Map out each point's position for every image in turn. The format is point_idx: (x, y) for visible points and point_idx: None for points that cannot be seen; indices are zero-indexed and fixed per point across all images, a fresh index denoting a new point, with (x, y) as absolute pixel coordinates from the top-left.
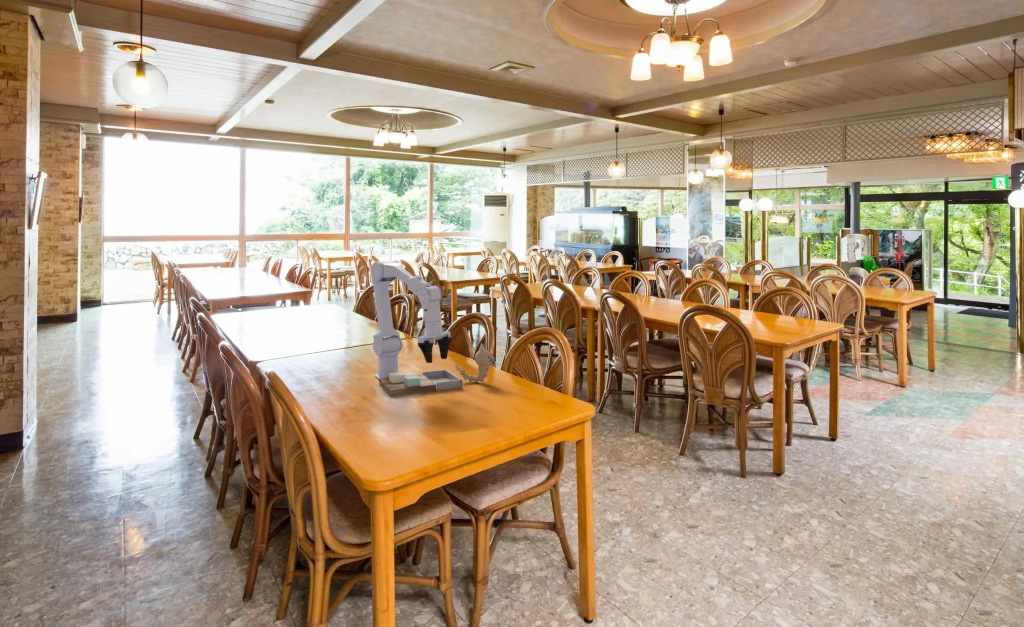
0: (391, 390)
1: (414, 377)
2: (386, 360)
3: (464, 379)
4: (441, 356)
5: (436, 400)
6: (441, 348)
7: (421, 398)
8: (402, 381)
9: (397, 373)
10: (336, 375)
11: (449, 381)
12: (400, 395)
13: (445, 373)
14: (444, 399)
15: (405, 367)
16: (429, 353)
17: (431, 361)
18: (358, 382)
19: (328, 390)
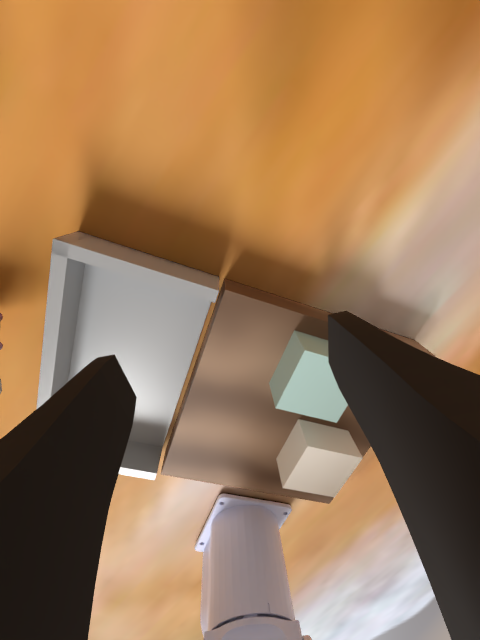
0: (430, 353)
1: (317, 378)
2: (281, 595)
3: (2, 317)
4: (128, 413)
5: (335, 133)
6: (89, 500)
7: (355, 228)
8: (309, 423)
9: (316, 475)
10: (330, 593)
11: (143, 266)
12: (380, 329)
13: None
14: (293, 112)
15: (124, 577)
16: (442, 364)
17: (346, 314)
18: (342, 526)
19: None
